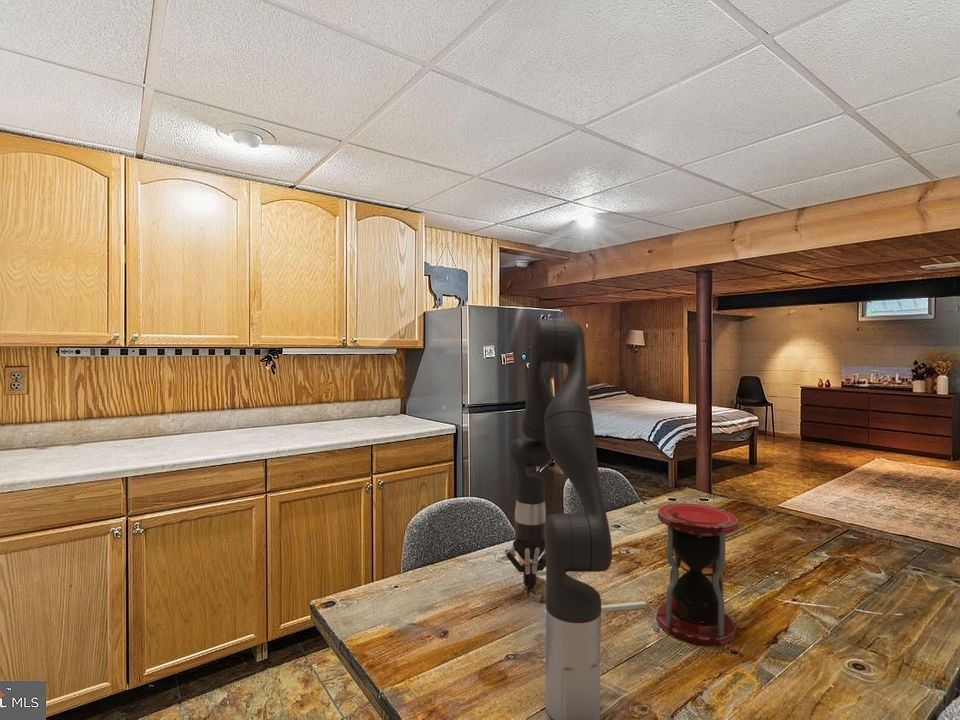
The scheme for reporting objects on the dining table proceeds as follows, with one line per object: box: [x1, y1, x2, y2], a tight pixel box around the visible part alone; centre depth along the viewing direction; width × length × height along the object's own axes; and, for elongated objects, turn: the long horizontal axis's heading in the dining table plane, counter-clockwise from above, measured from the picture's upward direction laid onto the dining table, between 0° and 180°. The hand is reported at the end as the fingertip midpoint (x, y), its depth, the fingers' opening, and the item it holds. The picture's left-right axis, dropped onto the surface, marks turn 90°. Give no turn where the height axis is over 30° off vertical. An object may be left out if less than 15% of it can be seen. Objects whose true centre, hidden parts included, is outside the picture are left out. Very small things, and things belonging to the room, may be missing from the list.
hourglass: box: [655, 502, 738, 647], centre depth 113 cm, size 16×16×25 cm
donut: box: [680, 559, 713, 575], centre depth 143 cm, size 10×10×4 cm
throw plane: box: [517, 553, 647, 614], centre depth 130 cm, size 30×24×6 cm
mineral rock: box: [520, 575, 546, 604], centre depth 128 cm, size 11×4×8 cm
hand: (529, 586), depth 128 cm, fingers closed
